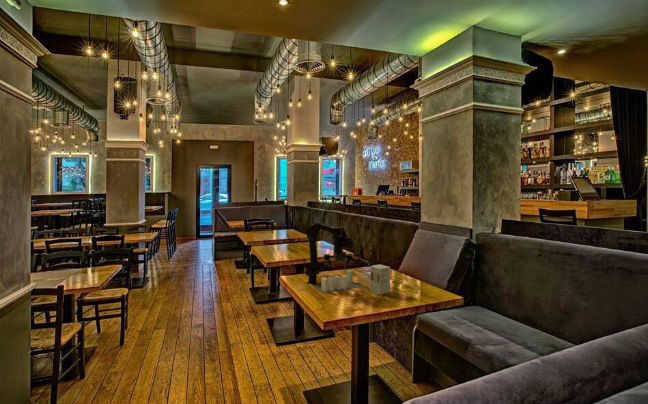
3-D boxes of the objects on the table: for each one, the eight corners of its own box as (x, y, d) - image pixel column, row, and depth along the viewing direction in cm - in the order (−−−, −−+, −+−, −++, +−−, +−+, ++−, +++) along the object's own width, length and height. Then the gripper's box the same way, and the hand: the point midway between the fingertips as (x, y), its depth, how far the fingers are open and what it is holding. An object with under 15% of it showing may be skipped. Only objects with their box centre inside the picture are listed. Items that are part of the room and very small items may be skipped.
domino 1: (321, 290, 227) (321, 278, 227) (324, 289, 228) (324, 277, 228) (325, 292, 223) (325, 279, 223) (327, 291, 224) (327, 279, 224)
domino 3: (334, 287, 232) (334, 276, 232) (336, 287, 233) (337, 275, 233) (338, 289, 228) (338, 277, 228) (340, 289, 229) (341, 277, 228)
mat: (311, 287, 236) (311, 286, 236) (350, 281, 251) (350, 280, 251) (324, 294, 220) (324, 293, 220) (365, 287, 236) (365, 286, 236)
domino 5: (346, 281, 249) (346, 270, 248) (348, 280, 250) (348, 269, 249) (350, 282, 244) (350, 271, 244) (352, 282, 245) (352, 271, 245)
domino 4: (340, 286, 235) (340, 275, 234) (343, 286, 236) (343, 274, 235) (344, 288, 230) (344, 276, 230) (347, 288, 231) (347, 276, 231)
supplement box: (369, 291, 228) (369, 265, 227) (379, 288, 233) (379, 263, 232) (380, 294, 220) (380, 268, 219) (390, 292, 225) (390, 266, 225)
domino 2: (328, 289, 230) (328, 277, 229) (330, 288, 231) (330, 276, 230) (331, 291, 225) (331, 278, 225) (334, 290, 226) (334, 278, 226)
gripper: (324, 248, 218) (324, 273, 219) (354, 248, 219) (353, 273, 220) (323, 245, 229) (323, 268, 230) (351, 245, 230) (351, 268, 231)
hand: (337, 269), depth 227 cm, fingers open, 9 cm apart
